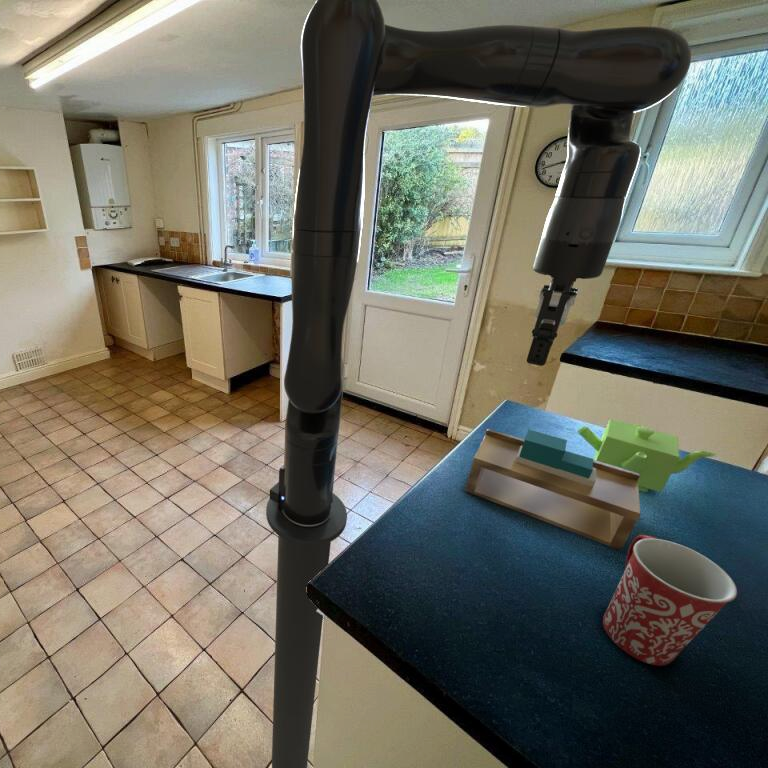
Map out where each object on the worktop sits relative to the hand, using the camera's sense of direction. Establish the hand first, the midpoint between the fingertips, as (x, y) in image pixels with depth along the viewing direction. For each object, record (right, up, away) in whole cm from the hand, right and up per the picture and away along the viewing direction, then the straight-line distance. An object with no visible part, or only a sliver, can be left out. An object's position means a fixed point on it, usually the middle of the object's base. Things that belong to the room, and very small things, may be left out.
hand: (539, 354), depth 60 cm
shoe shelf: (+13, -27, +19) cm, 35 cm away
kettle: (+35, -24, +25) cm, 49 cm away
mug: (+10, -37, -3) cm, 39 cm away
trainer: (+13, -19, +15) cm, 28 cm away
